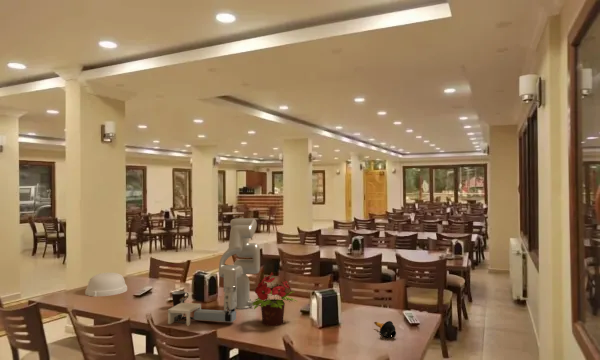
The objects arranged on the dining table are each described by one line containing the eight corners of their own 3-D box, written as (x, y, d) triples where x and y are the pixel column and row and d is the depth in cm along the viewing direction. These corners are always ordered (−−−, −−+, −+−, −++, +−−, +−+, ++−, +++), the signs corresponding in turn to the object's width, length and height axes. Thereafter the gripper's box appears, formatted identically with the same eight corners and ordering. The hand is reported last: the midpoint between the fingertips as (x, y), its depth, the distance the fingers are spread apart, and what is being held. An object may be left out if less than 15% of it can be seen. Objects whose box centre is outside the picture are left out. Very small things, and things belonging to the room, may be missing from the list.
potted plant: (267, 314, 275) (267, 266, 276) (304, 320, 262) (304, 270, 262) (237, 327, 250) (237, 274, 250) (277, 335, 236) (276, 279, 237)
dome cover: (100, 286, 355) (100, 269, 356) (135, 287, 352) (135, 270, 352) (75, 296, 324) (75, 277, 324) (113, 297, 320) (113, 278, 320)
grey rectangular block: (236, 319, 259) (236, 311, 259) (231, 322, 252) (231, 314, 252) (198, 316, 264) (198, 309, 264) (193, 319, 258) (193, 312, 258)
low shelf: (201, 317, 269) (201, 303, 269) (188, 325, 254) (188, 311, 254) (181, 315, 272) (181, 302, 272) (167, 323, 257) (167, 309, 257)
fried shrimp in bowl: (386, 332, 225) (364, 313, 240) (388, 347, 230) (366, 328, 245) (399, 323, 229) (377, 305, 243) (401, 338, 234) (379, 320, 248)
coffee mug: (173, 310, 286) (173, 294, 286) (170, 306, 293) (170, 291, 293) (191, 307, 291) (191, 292, 291) (188, 304, 299) (188, 289, 299)
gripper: (230, 292, 247) (230, 324, 247) (241, 285, 264) (241, 315, 264) (218, 291, 249) (218, 323, 248) (229, 285, 266) (229, 315, 265)
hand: (230, 319), depth 256 cm, fingers closed on grey rectangular block, 6 cm apart
